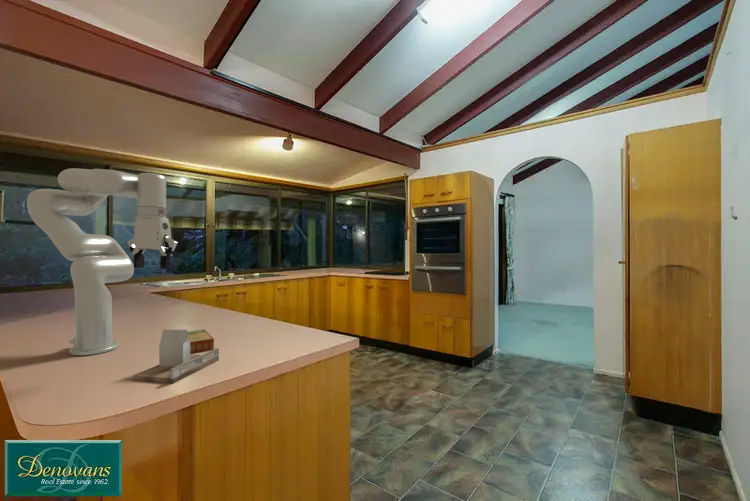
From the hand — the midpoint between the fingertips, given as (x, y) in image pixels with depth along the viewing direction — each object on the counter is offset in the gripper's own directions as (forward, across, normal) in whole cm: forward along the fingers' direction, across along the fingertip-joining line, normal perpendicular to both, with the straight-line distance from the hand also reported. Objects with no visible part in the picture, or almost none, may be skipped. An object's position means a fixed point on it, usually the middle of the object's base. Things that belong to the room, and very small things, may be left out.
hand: (152, 268), depth 106 cm
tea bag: (+27, -14, +7) cm, 31 cm away
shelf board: (+28, -16, +7) cm, 33 cm away
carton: (+29, -5, -14) cm, 32 cm away
